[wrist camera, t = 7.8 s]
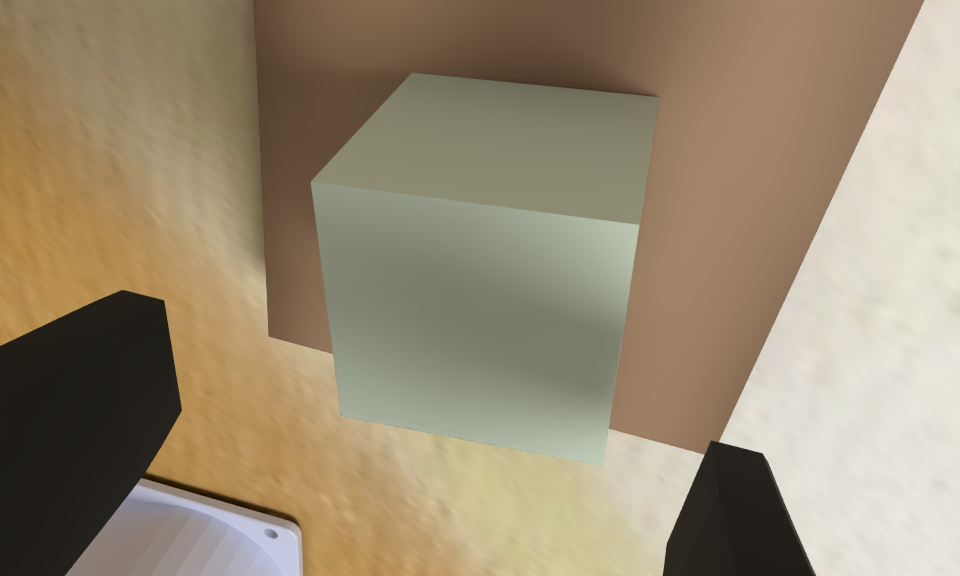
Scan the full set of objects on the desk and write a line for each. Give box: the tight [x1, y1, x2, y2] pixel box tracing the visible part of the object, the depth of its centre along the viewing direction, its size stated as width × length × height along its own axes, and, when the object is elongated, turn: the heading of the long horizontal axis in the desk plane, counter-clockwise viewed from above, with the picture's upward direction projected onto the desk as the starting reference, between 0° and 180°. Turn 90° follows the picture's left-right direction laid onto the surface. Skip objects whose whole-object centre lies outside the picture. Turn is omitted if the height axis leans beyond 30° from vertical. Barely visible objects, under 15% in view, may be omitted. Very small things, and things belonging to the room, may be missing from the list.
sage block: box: [311, 73, 659, 466], centre depth 13 cm, size 4×4×4 cm
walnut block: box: [254, 0, 924, 454], centre depth 16 cm, size 11×11×3 cm
